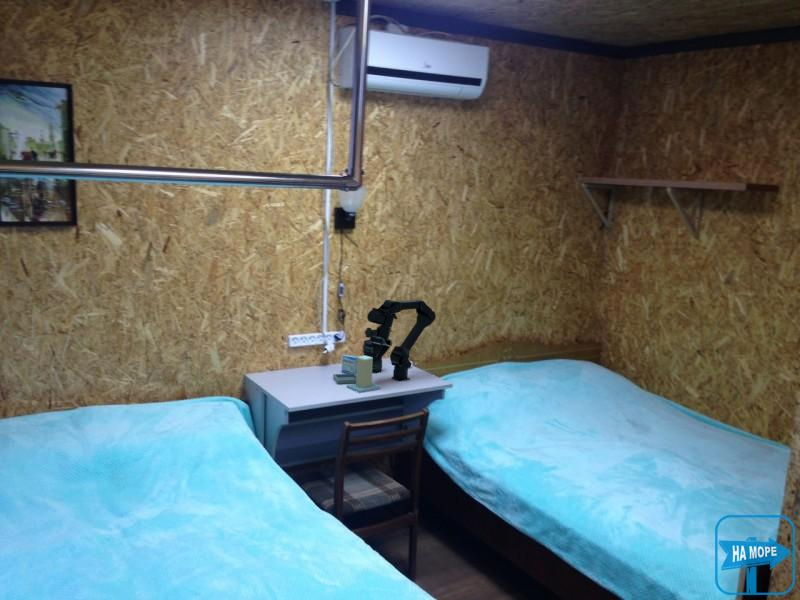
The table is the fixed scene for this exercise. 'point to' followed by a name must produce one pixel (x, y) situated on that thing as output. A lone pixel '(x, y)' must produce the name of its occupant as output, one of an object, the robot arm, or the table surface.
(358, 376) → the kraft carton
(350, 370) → the medicine box
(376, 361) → the storage jar
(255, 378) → the table surface
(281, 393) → the table surface
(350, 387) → the slate board
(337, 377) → the charcoal tray
